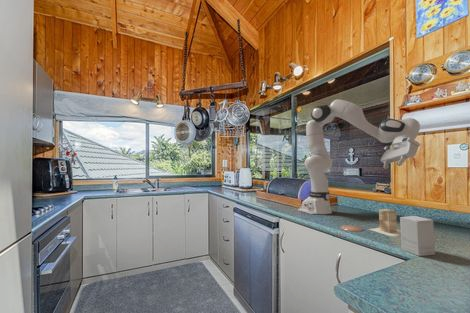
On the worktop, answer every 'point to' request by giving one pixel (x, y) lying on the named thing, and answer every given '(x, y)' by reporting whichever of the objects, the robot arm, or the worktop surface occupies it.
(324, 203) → the robot arm
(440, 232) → the worktop surface
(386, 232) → the card
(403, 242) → the supplement box
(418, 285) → the worktop surface
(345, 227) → the coaster
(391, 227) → the maple block
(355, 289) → the worktop surface
